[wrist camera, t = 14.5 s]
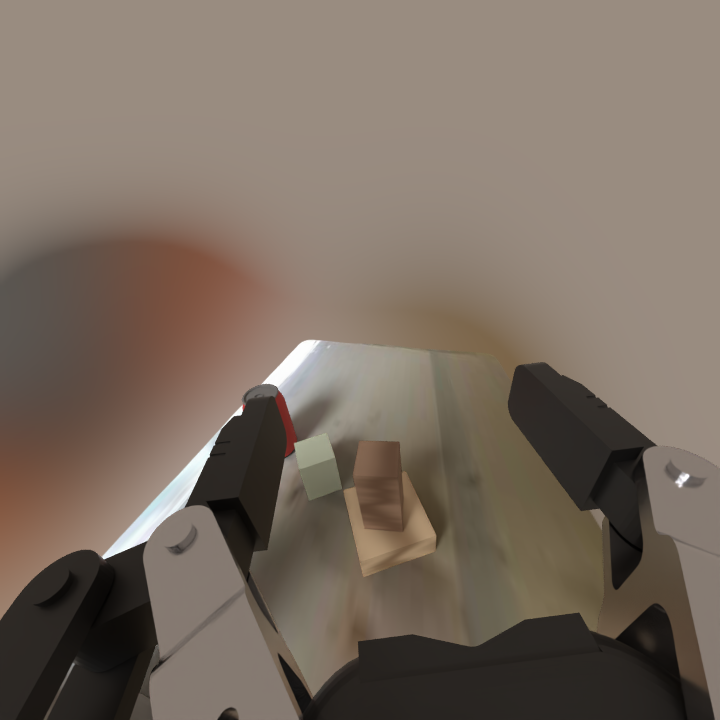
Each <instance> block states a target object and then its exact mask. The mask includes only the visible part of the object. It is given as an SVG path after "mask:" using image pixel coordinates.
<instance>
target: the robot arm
mask: <svg viewBox="0 0 720 720" xmlns="http://www.w3.org/2000/svg"><path fill="white" fill-rule="evenodd" d="M508 409H509V413H510V416H511V418H512V420H513V421H514V422H515V424H516V425H517V426H518V428H519V429H520V430H521V432H522V433H523V434H524V436H525V437H526V438H527V440H528V441H529V442H530V444H531V445H532V446H533V448H534V449H535V450H536V452H537V453H538V454H539V456H540V457H541V458H542V460H543V461H544V462H545V464H546V465H547V466H548V468H549V469H550V470H551V472H552V473H553V475H554V476H555V477H556V479H557V480H558V481H559V483H560V484H561V485H562V487H563V488H564V489H565V491H566V492H567V493H568V495H569V496H570V497H571V499H572V500H573V501H574V503H575V504H576V505H577V507H578V508H579V509H580V511H584V510H592V509H600V510H601V511H602V512H603V513H604V515H605V517H604V519H603V522H602V539H603V571H604V598H603V604H602V607H601V610H600V613H599V618H598V624H597V633H596V632H593V631H589V629H588V627H587V626H586V624H585V622H584V620H583V619H582V617H581V615H580V613H573V614H565V615H558V616H550V617H542V618H535V619H527V620H524V621H522V622H520V623H518V624H517V625H515V626H513V627H511V628H509V629H508V630H506V631H504V632H502V633H501V634H499V635H497V636H495V637H494V638H492V639H490V640H488V641H486V642H485V643H483V644H481V645H479V646H476V647H469V646H464V645H459V644H454V643H450V642H445V641H441V640H436V639H431V638H427V637H422V636H417V635H413V634H412V635H404V636H397V637H389V638H381V639H374V640H366V641H358V650H359V657H357V658H356V659H354V660H352V661H350V662H348V663H347V664H346V665H344V666H343V667H342V668H340V669H339V670H338V671H336V672H335V673H334V674H333V675H332V676H331V677H330V678H329V679H328V680H327V681H326V682H325V683H324V685H323V686H322V687H321V688H320V690H319V691H318V692H317V694H316V695H315V696H314V697H313V695H312V693H311V691H310V689H309V687H308V685H307V683H306V681H305V679H304V677H303V675H302V673H301V671H300V669H299V667H298V665H297V663H296V661H295V659H294V657H293V655H292V654H291V652H290V650H289V648H288V647H287V645H286V643H285V641H284V639H283V637H282V635H281V633H280V631H279V629H278V627H277V625H276V623H275V621H274V619H273V617H272V614H271V612H270V610H269V608H268V606H267V604H266V602H265V600H264V598H263V596H262V594H261V592H260V589H259V587H258V585H257V583H256V581H255V579H254V577H253V575H252V573H251V571H250V569H249V568H250V563H251V559H252V554H253V552H255V551H262V550H267V548H268V543H269V538H270V532H271V527H272V522H273V516H274V511H275V506H276V501H277V495H278V490H279V485H280V480H281V474H282V469H283V464H284V459H285V453H286V448H287V435H286V430H285V426H284V423H283V420H282V417H281V414H280V411H279V408H278V406H277V403H276V400H275V398H274V397H273V396H267V397H259V398H251V399H248V401H247V403H246V405H245V408H244V410H243V412H242V415H241V416H234V417H233V418H232V419H231V420H230V421H229V422H228V423H227V424H226V425H225V426H224V427H223V428H222V429H221V432H220V434H219V436H218V438H217V440H216V442H215V446H213V449H212V451H211V453H210V458H208V459H207V461H206V463H205V466H204V468H203V470H202V472H201V474H200V476H199V478H198V480H197V483H196V485H195V487H194V489H193V491H192V493H191V495H190V497H189V500H188V502H187V504H186V506H185V508H183V509H181V510H179V511H177V512H175V513H174V514H172V515H171V516H169V517H168V518H167V519H166V520H164V521H163V522H162V523H161V524H160V525H159V526H158V527H157V528H156V530H155V531H154V532H153V533H152V535H151V536H150V538H149V540H148V541H146V542H144V543H142V544H139V545H137V546H135V547H132V548H130V549H128V550H125V551H123V552H121V553H118V554H116V555H114V556H111V557H109V558H107V559H103V558H102V557H101V556H99V555H98V554H97V553H96V552H94V551H92V550H80V551H76V552H73V553H71V554H68V555H66V556H64V557H62V558H60V559H58V560H57V561H55V562H54V563H52V564H51V565H49V566H48V567H47V568H45V569H44V570H43V571H41V572H40V573H39V574H38V575H37V576H36V577H35V578H34V579H33V580H31V582H30V583H29V584H28V585H27V586H26V587H25V588H24V589H23V590H22V592H21V593H20V594H19V596H18V597H17V598H16V599H15V601H14V602H13V604H12V605H11V606H10V608H9V609H8V610H7V612H6V613H5V615H4V616H3V617H2V619H1V620H0V720H720V469H719V468H718V467H717V466H715V465H714V464H712V463H711V462H709V461H707V460H706V459H704V458H702V457H700V456H698V455H696V454H693V453H690V452H688V451H685V450H682V449H678V448H673V447H668V446H657V445H655V444H654V443H653V442H652V441H651V440H649V439H648V438H647V437H646V436H644V435H643V434H642V433H641V432H640V431H638V430H637V429H636V428H635V427H634V426H632V425H631V424H630V423H629V422H627V421H626V420H625V419H624V418H622V417H621V416H620V415H619V414H618V413H616V412H615V411H614V410H612V409H611V408H608V407H607V405H606V404H605V403H604V402H603V401H602V400H600V399H599V398H596V397H595V395H594V394H593V393H592V392H590V391H589V390H588V389H587V388H586V387H584V386H583V385H582V384H580V383H578V382H576V381H574V380H572V379H570V378H568V377H566V376H564V375H562V376H561V375H560V374H558V373H557V372H556V371H555V370H554V369H552V368H551V367H550V366H549V365H548V364H546V363H543V362H540V363H532V364H524V365H519V366H517V367H516V369H515V372H514V377H513V381H512V386H511V390H510V395H509V400H508ZM157 644H158V645H159V651H160V660H159V664H158V665H156V666H155V667H154V668H153V670H152V672H151V675H150V682H149V693H150V699H149V698H148V697H146V696H145V695H142V694H140V693H139V692H140V689H141V686H142V683H143V680H144V678H145V675H146V672H147V669H148V666H149V663H150V660H151V658H152V655H153V652H154V649H155V646H156V645H157Z"/></svg>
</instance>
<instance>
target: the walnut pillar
mask: <svg viewBox="0 0 720 720" xmlns="http://www.w3.org/2000/svg"><path fill="white" fill-rule="evenodd" d="M353 479H354V484H355V488H356V493H357V497H358V502H359V506H360V511H361V515H362V520H363V524H364V529H372V530H384V531H396V532H403V502H404V494H403V482H402V469H401V457H400V444H399V442H388V441H359V445H358V450H357V455H356V461H355V466H354V471H353Z"/></svg>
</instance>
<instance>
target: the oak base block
mask: <svg viewBox="0 0 720 720" xmlns="http://www.w3.org/2000/svg"><path fill="white" fill-rule="evenodd" d="M402 482H403V494H404V502H403V532H396V531H384V530H372V529H364V524H363V520H362V515H361V511H360V506H359V502H358V497H357V493H356V488H355V487H352V488H349V489H345V490H343V492H344V496H345V501H346V505H347V509H348V514H349V518H350V522H351V526H352V531H353V535H354V539H355V543H356V548H357V552H358V556H359V560H360V565H361V569H362V573H363V577H365V576H368V575H370V574H373V573H376V572H379V571H382V570H384V569H387V568H390V567H393V566H396V565H398V564H401V563H404V562H407V561H410V560H412V559H415V558H418V557H421V556H424V555H426V554H429V553H432V552H435V550H436V534H435V531H434V529H433V527H432V525H431V523H430V521H429V519H428V517H427V515H426V513H425V510H424V508H423V506H422V504H421V502H420V500H419V498H418V496H417V494H416V492H415V490H414V487H413V485H412V483H411V481H410V479H409V477H408V475H407V473H406V471H404V472H402Z"/></svg>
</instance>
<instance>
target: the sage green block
mask: <svg viewBox="0 0 720 720" xmlns="http://www.w3.org/2000/svg"><path fill="white" fill-rule="evenodd" d="M294 447H295V452H296V457H297V462H298V468H299V472H300V475H301V478H302V481H303V484H304V487H305V490H306V493H307V496H308V499H309V501H310V500H313V499H316V498H319V497H321V496H324V495H327V494H329V493H332V492H335V491H337V490H340V489H342V486H341V482H340V477H339V473H338V468H337V464H336V459H335V456H334V453H333V450H332V447H331V444H330V441H329V438H328V435H327V433H324V434H321V435H318V436H315V437H312V438H309V439H305V440H302V441H299V442H296V443H294Z"/></svg>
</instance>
